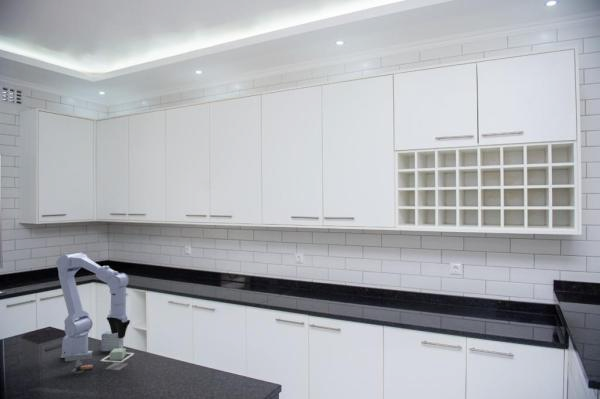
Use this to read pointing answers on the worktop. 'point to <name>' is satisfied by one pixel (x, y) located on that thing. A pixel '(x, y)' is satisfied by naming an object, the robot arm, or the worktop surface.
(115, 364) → the lock plate
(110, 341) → the medicine box
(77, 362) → the tee key
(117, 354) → the cover
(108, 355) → the tray
